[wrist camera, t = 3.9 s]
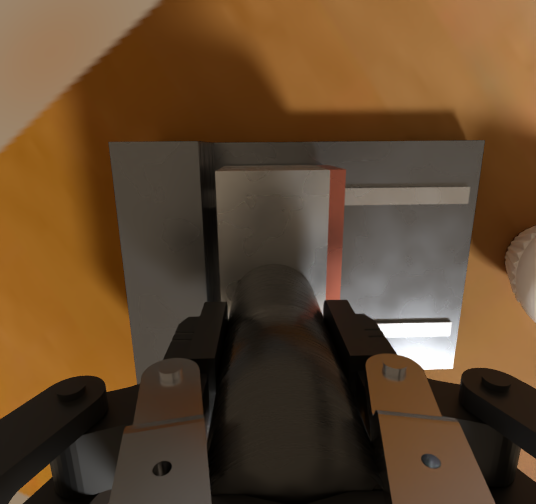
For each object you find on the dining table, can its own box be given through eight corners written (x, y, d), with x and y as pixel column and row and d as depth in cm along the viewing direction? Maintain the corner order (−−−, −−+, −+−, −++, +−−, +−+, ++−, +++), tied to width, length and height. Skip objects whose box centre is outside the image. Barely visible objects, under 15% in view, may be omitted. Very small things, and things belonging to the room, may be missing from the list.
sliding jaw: (225, 165, 17) (127, 220, 4) (327, 164, 17) (523, 214, 4) (232, 362, 19) (186, 748, 7) (320, 360, 20) (430, 737, 7)
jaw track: (155, 143, 18) (108, 142, 13) (467, 141, 19) (560, 138, 13) (174, 359, 22) (143, 437, 16) (439, 354, 22) (504, 428, 16)
